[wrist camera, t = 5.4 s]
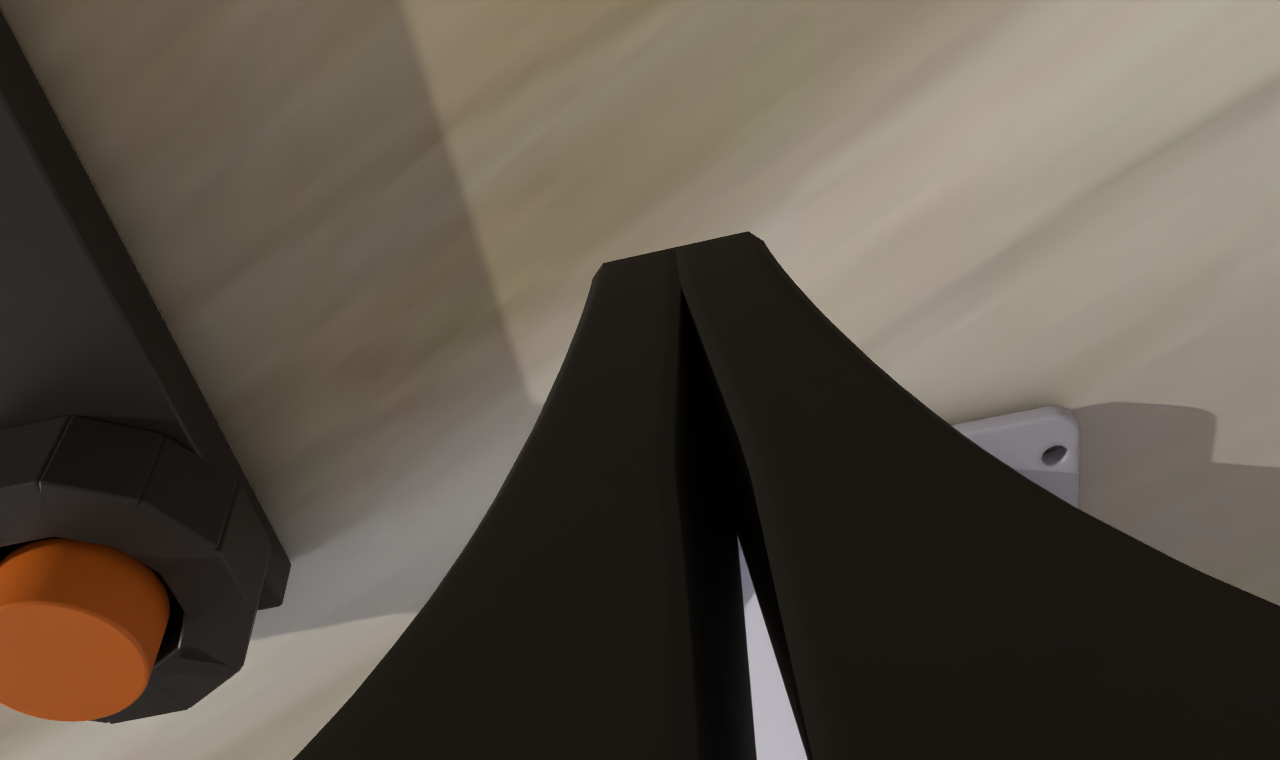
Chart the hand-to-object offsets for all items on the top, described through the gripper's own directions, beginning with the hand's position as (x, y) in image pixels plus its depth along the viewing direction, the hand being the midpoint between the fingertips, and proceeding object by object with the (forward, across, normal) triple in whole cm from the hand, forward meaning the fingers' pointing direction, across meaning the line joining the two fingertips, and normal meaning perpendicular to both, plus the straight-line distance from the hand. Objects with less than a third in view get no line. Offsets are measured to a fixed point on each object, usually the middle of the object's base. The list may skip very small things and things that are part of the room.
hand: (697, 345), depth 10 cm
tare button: (+7, +12, +8) cm, 16 cm away
